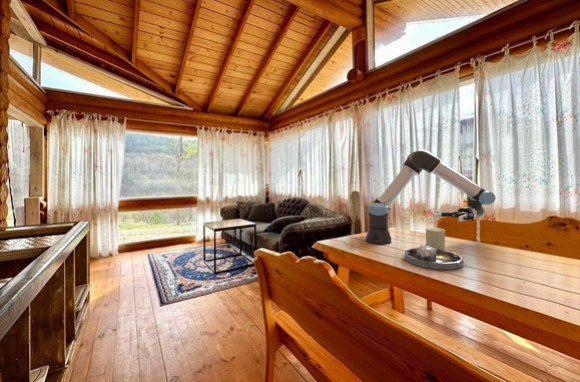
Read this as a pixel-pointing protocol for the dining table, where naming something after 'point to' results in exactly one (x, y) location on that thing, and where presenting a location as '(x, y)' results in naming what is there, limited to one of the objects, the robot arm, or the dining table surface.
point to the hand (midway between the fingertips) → (446, 217)
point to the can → (435, 238)
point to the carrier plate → (435, 265)
